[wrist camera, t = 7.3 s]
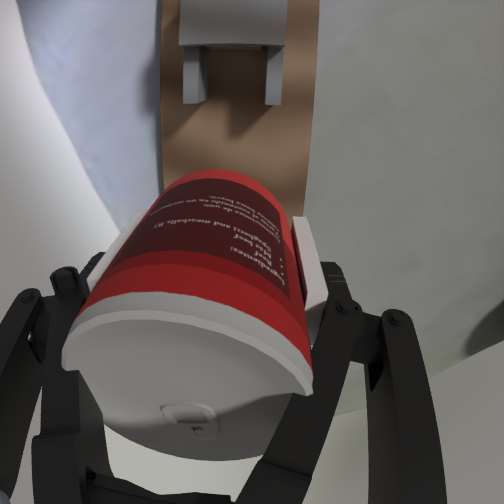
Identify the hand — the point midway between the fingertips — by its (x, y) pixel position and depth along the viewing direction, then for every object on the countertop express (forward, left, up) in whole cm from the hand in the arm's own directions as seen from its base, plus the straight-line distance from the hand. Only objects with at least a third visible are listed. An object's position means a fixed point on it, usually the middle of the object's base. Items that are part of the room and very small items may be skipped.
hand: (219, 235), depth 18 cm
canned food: (0, 0, 0) cm, 0 cm away
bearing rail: (-8, 0, -11) cm, 14 cm away
